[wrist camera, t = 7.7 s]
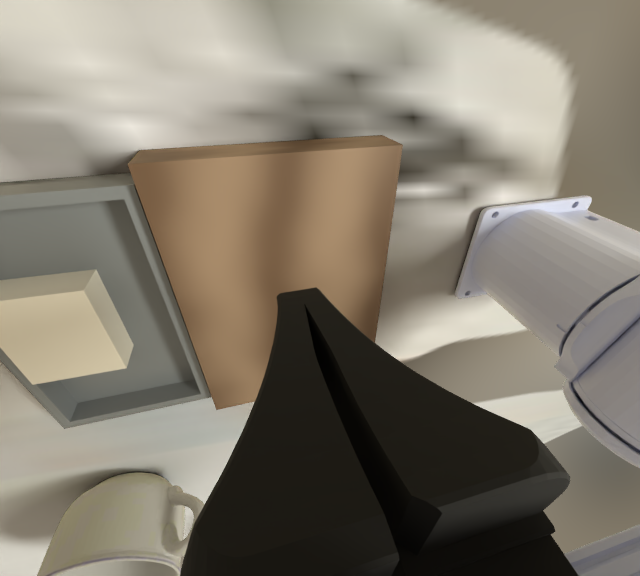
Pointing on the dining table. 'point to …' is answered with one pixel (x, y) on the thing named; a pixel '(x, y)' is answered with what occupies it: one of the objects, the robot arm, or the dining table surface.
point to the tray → (120, 282)
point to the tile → (61, 326)
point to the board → (267, 240)
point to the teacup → (123, 530)
